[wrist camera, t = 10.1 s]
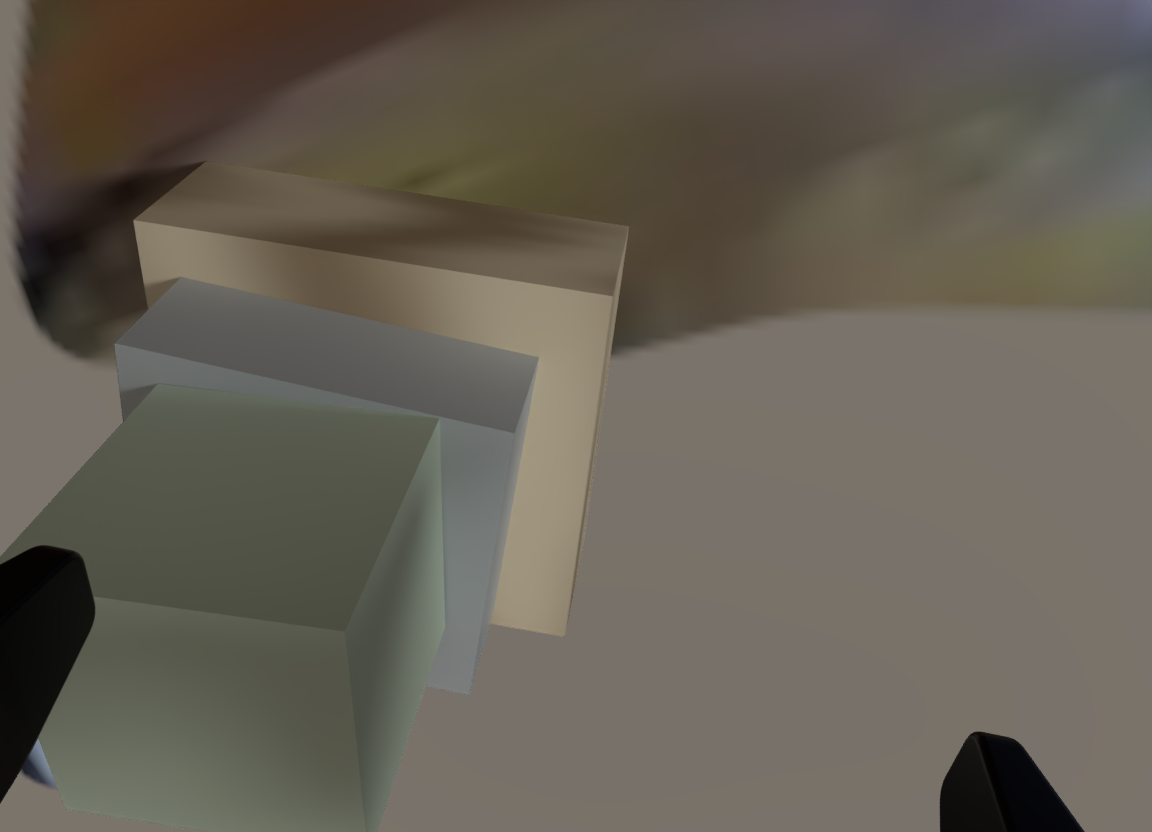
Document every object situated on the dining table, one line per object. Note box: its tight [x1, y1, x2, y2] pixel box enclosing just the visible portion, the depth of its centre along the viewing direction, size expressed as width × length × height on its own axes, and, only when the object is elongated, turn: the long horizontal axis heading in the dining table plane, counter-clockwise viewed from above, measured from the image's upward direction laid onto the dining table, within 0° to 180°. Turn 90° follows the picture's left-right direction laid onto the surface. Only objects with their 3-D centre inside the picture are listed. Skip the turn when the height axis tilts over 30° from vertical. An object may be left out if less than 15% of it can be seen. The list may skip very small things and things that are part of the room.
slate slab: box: [114, 277, 539, 695], centre depth 20 cm, size 7×7×2 cm
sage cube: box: [0, 384, 445, 832], centre depth 17 cm, size 5×5×5 cm
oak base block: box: [133, 161, 629, 637], centre depth 22 cm, size 9×9×4 cm
